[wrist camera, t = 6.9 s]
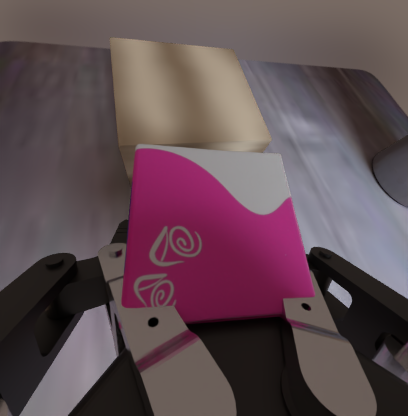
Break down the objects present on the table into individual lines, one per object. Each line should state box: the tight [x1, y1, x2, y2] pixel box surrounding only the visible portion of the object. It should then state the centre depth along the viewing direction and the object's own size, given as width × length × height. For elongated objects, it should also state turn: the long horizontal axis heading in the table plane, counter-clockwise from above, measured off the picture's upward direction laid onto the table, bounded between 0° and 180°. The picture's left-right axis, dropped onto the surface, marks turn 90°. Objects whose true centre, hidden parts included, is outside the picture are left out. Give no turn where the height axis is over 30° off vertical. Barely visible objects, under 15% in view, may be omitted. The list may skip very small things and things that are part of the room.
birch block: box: [110, 37, 272, 187], centre depth 19 cm, size 12×12×6 cm
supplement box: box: [119, 144, 315, 329], centre depth 11 cm, size 6×6×12 cm
